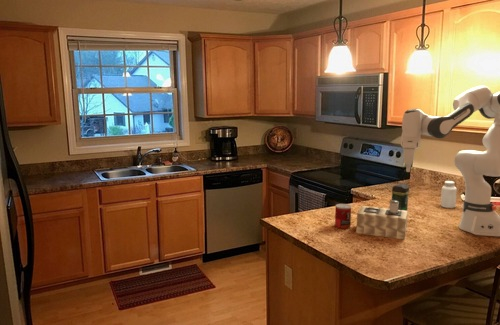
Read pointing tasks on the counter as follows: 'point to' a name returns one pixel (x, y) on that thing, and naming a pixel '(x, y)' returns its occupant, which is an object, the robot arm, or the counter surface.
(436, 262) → the counter surface
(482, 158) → the robot arm
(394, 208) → the peg
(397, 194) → the coffee jar
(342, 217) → the canned food
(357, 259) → the counter surface
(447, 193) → the pill bottle
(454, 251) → the counter surface
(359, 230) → the socket block
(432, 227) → the counter surface
